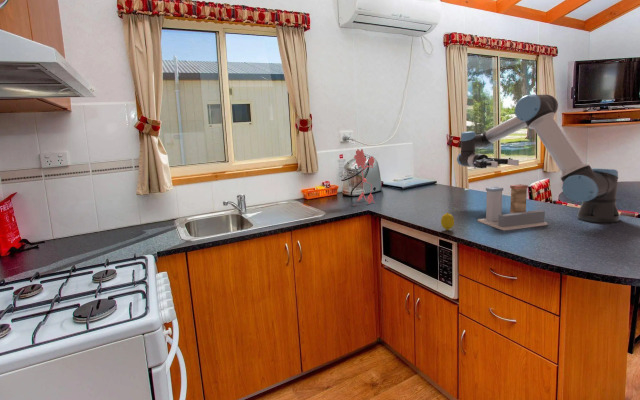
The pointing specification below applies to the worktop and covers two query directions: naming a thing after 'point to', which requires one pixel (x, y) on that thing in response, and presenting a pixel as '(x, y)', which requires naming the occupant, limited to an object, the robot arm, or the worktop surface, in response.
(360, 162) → the red flowering branch
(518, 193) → the beige wooden tall block
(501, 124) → the robot arm
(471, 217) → the worktop surface
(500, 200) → the grey tall block
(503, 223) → the switch base
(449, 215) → the lemon
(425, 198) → the worktop surface
